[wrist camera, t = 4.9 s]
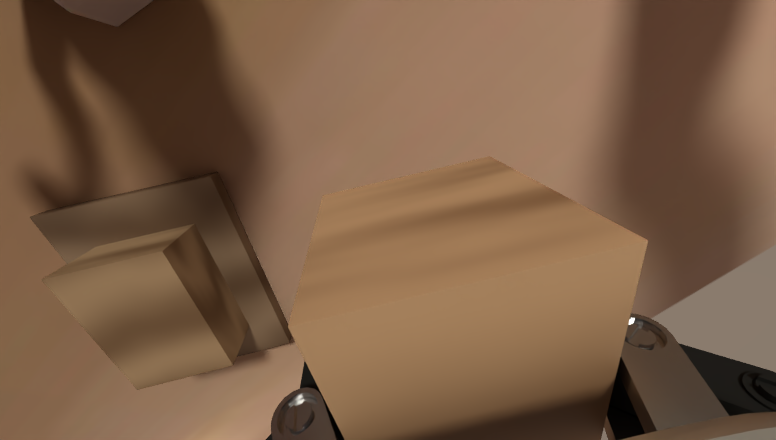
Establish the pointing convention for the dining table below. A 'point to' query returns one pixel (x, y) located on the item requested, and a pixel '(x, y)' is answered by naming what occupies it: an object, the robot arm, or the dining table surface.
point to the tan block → (465, 307)
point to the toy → (104, 9)
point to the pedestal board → (172, 213)
